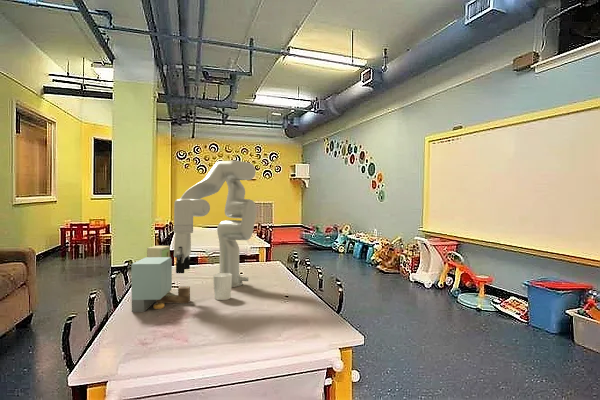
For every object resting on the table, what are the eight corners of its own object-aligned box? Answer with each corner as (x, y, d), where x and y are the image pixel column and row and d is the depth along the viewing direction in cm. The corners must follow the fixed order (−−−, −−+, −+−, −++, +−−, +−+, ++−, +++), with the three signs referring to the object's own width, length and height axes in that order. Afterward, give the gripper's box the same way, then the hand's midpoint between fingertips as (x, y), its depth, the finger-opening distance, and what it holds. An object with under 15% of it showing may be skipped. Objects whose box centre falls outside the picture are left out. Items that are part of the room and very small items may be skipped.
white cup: (235, 297, 172) (235, 273, 171) (224, 301, 164) (224, 277, 164) (220, 295, 175) (220, 272, 175) (209, 299, 168) (209, 275, 168)
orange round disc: (165, 306, 158) (165, 302, 158) (162, 309, 154) (162, 305, 154) (155, 306, 158) (155, 302, 158) (152, 309, 154) (152, 305, 154)
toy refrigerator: (162, 296, 172) (161, 248, 172) (146, 295, 174) (146, 247, 173) (171, 292, 180) (171, 245, 180) (156, 291, 182) (156, 245, 181)
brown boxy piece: (190, 300, 166) (189, 286, 166) (188, 303, 162) (188, 288, 162) (158, 301, 165) (158, 286, 165) (155, 303, 161) (155, 288, 161)
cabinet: (171, 300, 166) (171, 257, 166) (160, 311, 150) (160, 263, 150) (145, 300, 166) (145, 257, 166) (131, 311, 150) (131, 264, 150)
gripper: (179, 227, 172) (178, 267, 171) (168, 230, 154) (167, 274, 154) (197, 228, 172) (196, 267, 172) (188, 230, 155) (187, 274, 155)
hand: (183, 271), depth 163 cm, fingers open, 9 cm apart
